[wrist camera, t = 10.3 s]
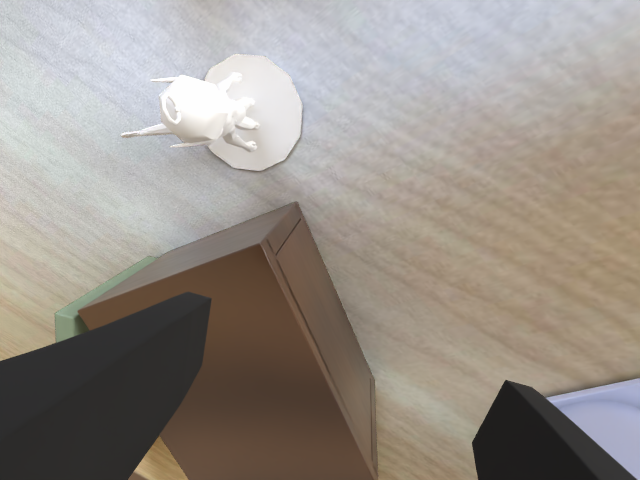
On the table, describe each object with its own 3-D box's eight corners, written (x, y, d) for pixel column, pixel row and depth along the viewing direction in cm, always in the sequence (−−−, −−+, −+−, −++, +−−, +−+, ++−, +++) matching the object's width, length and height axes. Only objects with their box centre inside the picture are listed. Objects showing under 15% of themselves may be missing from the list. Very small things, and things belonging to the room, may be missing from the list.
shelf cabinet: (374, 380, 20) (379, 491, 14) (256, 409, 22) (214, 519, 16) (297, 200, 17) (260, 242, 11) (168, 251, 19) (75, 311, 13)
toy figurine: (312, 162, 17) (275, 189, 10) (163, 186, 18) (37, 225, 11) (292, 41, 15) (229, -30, 8) (130, 77, 16) (-42, 44, 9)
